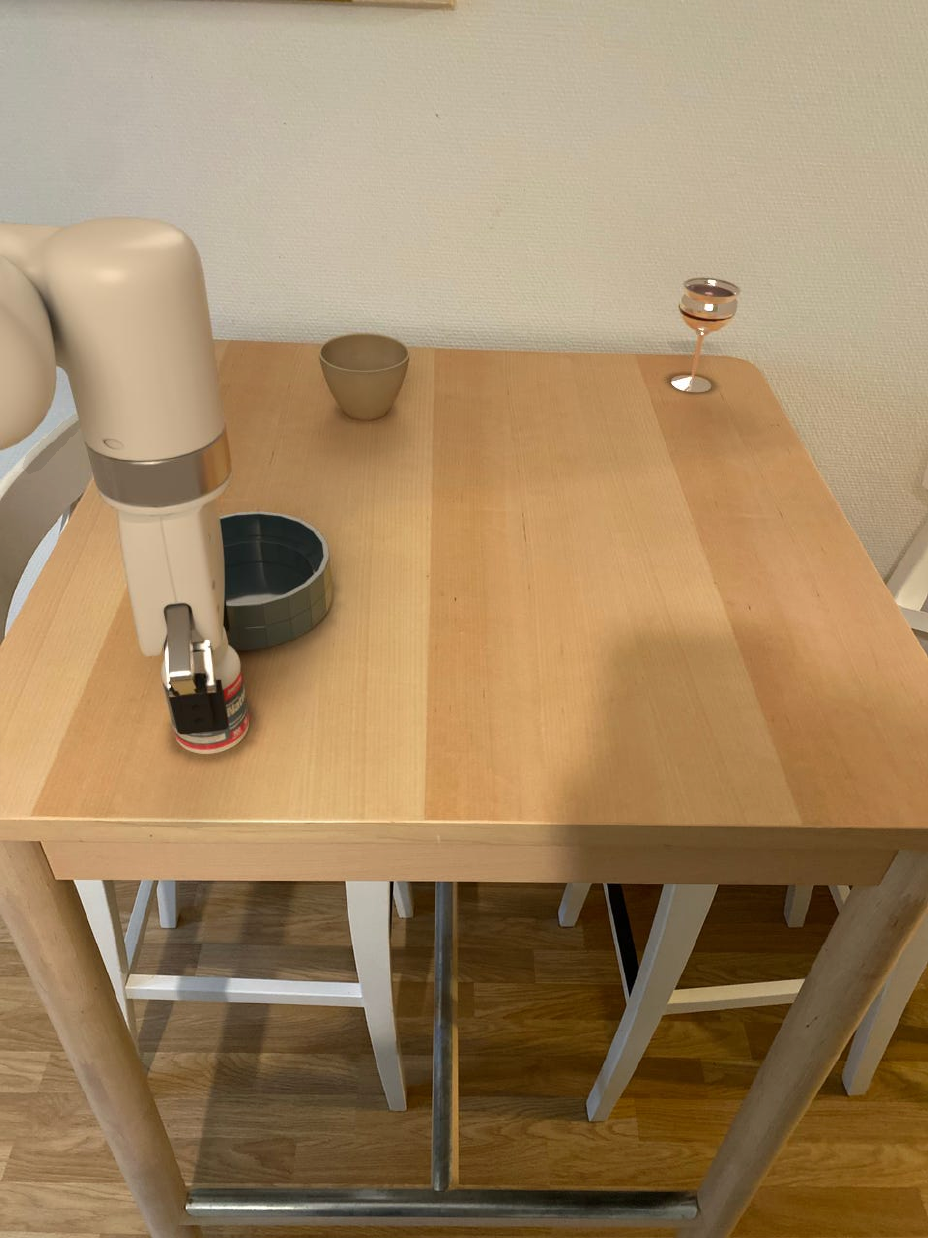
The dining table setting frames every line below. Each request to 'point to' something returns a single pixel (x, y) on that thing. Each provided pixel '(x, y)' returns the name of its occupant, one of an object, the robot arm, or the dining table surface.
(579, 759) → the dining table surface
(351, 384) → the flower pot
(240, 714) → the pill bottle
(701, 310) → the wineglass
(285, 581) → the bowl
